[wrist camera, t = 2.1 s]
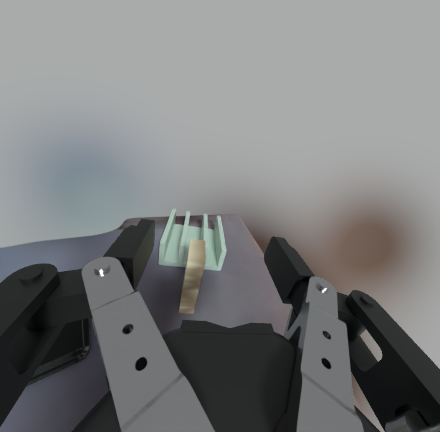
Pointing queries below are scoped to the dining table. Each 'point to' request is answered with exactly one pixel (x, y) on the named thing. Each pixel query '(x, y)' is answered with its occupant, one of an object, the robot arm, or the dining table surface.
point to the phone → (65, 349)
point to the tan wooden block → (192, 275)
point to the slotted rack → (180, 239)
